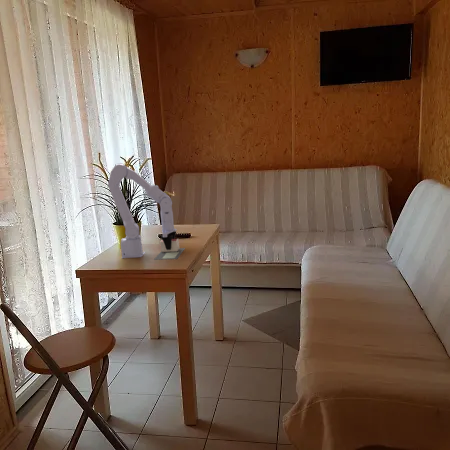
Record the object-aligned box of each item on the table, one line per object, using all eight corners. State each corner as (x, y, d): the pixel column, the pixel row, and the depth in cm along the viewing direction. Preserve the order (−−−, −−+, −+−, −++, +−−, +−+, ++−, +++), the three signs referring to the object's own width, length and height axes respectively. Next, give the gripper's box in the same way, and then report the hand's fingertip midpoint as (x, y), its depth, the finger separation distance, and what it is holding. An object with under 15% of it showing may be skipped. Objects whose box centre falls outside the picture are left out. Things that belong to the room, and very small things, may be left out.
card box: (161, 251, 213) (159, 241, 212) (163, 249, 217) (162, 239, 216) (177, 251, 212) (176, 241, 211) (179, 248, 216) (178, 238, 215)
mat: (153, 260, 202) (153, 259, 202) (163, 249, 219) (163, 248, 219) (177, 259, 200) (177, 258, 200) (185, 248, 218) (185, 247, 218)
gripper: (172, 223, 204) (174, 252, 207) (178, 217, 218) (181, 243, 221) (157, 224, 205) (160, 252, 208) (164, 217, 219) (167, 244, 222)
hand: (170, 248), depth 214 cm, fingers closed on card box, 4 cm apart
